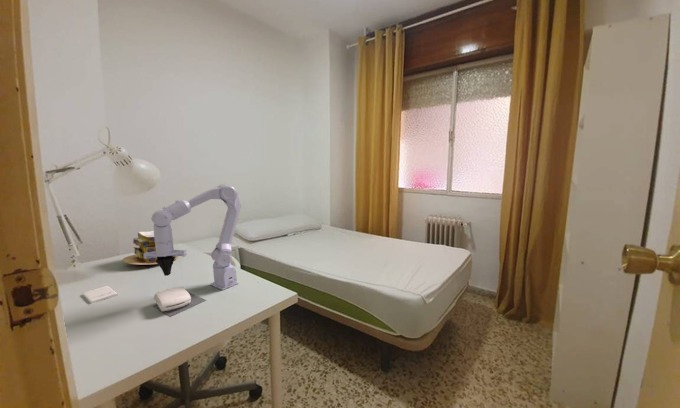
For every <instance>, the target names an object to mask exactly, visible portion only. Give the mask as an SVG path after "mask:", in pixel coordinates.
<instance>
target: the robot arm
mask: <svg viewBox="0 0 680 408" xmlns="http://www.w3.org/2000/svg"><path fill="white" fill-rule="evenodd" d="M209 200H221V201H223V203H224V204H225V205H226V207H227V209H226V214H225V217H224V221H223V225H222V229H221V231H220V235H219V239H218V242H217V243H216V244H215V248H214V249H213V251H212V252H211V259H212V260H213V264H212V269H213V270H212V271H213V282H211V283H210V286H212V287H214V288H217V289H220V290H222V291H224V290H226V289H228V288H231V287H232V286H235V285H238V284H239V283H240V282H239V281H238V280H237V279H238V278H237V270H236V269H235V267H233V265H232V263H231V262H232V260H233V259H232V258H233V257H232V251H233V250H232V243H233V239H234V235H235V231H236V226H237V225H238V224H237V223H238V220H239V215H240V213H241V207H242V205H241V200H240V198H239V192H238V190H236V189H235V188H234V187H233V186H232V185H226V184H220V185H217V186H214V187H212V188H209V189H207V190H205V191H203V192H202V193H200V194H197V195H195V196H194V197H192V198H190V199H188V200H185V199H181V200H179V199H176V200H174V203H172V204H170V205H168V206H163V207H162V209H159V210H158V209H157V210H156V211H154V212H153V213H152V215H151V221H152V223H153V226H152V227H153V231H154V238H155V247H156V251H155V252H146V253H144V254H143V255H144V259H147V258H157V260H156V263H157V264H156V265H158V266H159V267H160V269H161V270H162V273H163V274H164V276H168V277H169V276H170V275H171V273H172V268H173V267H172V266H173V264H174V262H175V260H174V259H175V257H176V256H178V257H182V258H184V257H186V256H187V255H188V254H187V249H186V250H183V249H174V248H175V247H174V240H173V232H172V231H173V230H172V228H171V227H172V226H171V223H172V221H175V220H177V219H180V218H181V217H183V216H186V215H187V214H189V213H190V212H191V210H192V208H194V207H197V206H199V205H201V204H203V203H205V202H208V201H209Z"/></svg>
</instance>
